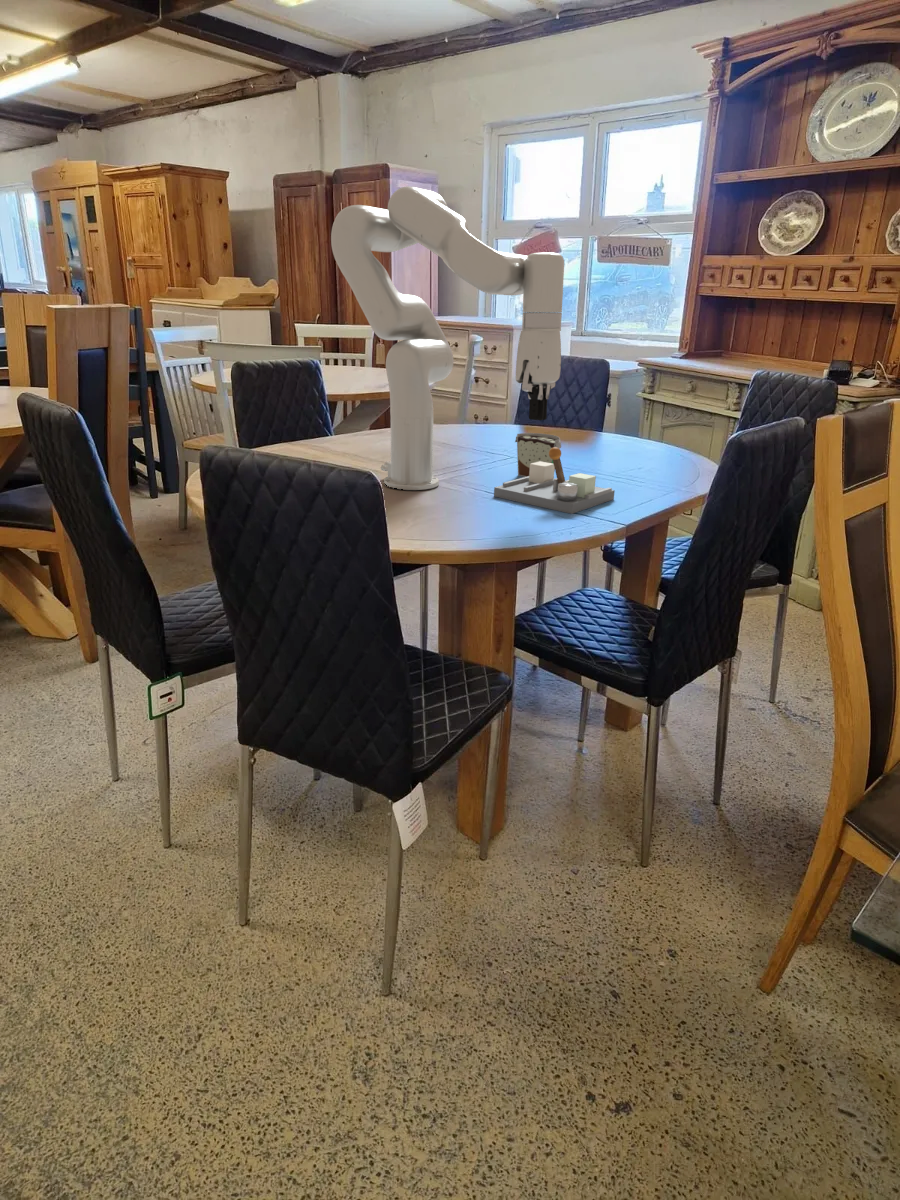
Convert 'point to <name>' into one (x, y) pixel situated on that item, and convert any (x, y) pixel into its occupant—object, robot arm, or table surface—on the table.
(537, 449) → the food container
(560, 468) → the lever
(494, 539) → the table surface
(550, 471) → the block
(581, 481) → the slider green
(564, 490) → the button
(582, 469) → the table surface
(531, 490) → the panel
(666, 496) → the table surface
